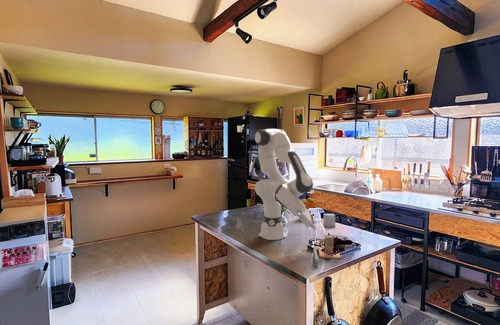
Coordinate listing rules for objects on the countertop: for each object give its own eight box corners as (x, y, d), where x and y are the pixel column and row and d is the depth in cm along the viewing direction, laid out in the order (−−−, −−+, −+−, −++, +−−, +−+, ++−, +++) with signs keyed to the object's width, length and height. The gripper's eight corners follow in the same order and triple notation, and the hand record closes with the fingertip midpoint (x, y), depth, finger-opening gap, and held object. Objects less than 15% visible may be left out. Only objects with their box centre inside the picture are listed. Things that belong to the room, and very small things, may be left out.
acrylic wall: (313, 252, 159) (313, 245, 159) (315, 252, 159) (315, 246, 158) (315, 266, 141) (315, 259, 141) (318, 267, 141) (318, 259, 141)
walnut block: (324, 250, 160) (325, 235, 159) (332, 250, 159) (332, 235, 158) (325, 253, 156) (325, 237, 155) (333, 253, 155) (333, 237, 154)
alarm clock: (310, 217, 233) (311, 193, 231) (315, 218, 227) (315, 194, 225) (297, 219, 227) (297, 194, 225) (302, 220, 222) (302, 196, 220)
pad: (318, 249, 164) (318, 247, 164) (337, 250, 163) (337, 248, 162) (319, 257, 153) (319, 255, 152) (340, 258, 151) (340, 257, 151)
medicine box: (333, 224, 211) (333, 213, 210) (335, 226, 207) (335, 215, 206) (323, 225, 211) (323, 213, 210) (324, 226, 206) (325, 215, 206)
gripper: (302, 209, 147) (320, 228, 147) (301, 200, 168) (317, 217, 167) (293, 217, 149) (311, 236, 148) (293, 207, 169) (309, 224, 168)
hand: (314, 226), depth 158 cm, fingers open, 8 cm apart
